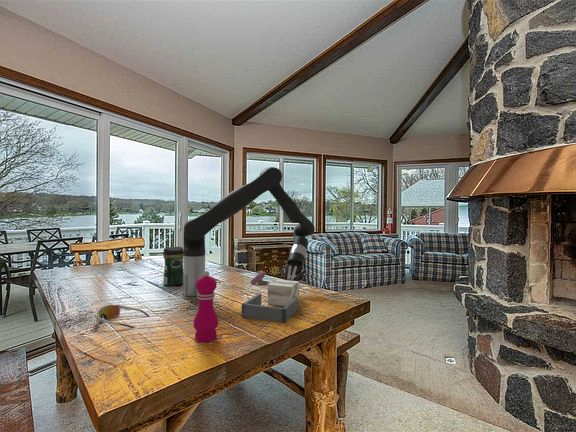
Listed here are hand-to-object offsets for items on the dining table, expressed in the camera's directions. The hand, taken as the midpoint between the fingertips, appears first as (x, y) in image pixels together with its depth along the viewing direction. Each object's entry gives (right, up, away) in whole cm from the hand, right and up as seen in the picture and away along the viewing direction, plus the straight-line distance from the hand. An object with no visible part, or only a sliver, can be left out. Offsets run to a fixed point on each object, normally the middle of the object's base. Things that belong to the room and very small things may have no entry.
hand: (288, 288), depth 140 cm
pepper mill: (-25, -5, -43) cm, 50 cm away
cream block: (-2, -4, -6) cm, 8 cm away
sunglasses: (-56, -5, -31) cm, 64 cm away
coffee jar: (-57, -3, +21) cm, 61 cm away
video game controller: (-16, -3, +27) cm, 31 cm away
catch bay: (-7, -4, -20) cm, 21 cm away
